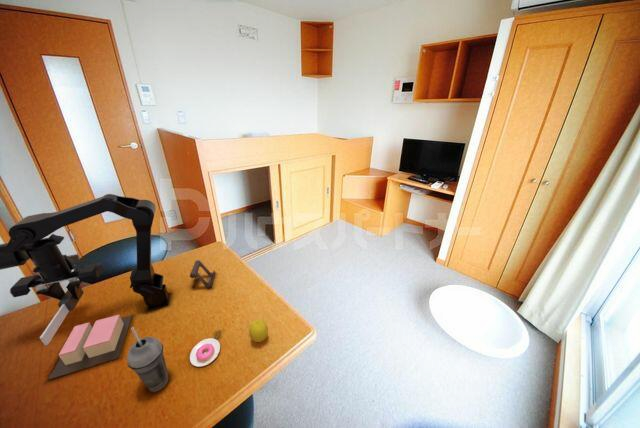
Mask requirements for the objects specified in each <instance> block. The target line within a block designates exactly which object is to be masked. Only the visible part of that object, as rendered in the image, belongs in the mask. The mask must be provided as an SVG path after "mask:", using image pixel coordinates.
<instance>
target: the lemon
mask: <svg viewBox="0 0 640 428" xmlns="http://www.w3.org/2000/svg"><path fill="white" fill-rule="evenodd" d="M248 333H249V337H250V339H251V340H252V341H253V342H255V343H261V342H263V341H264V340H265V339H266V338H267V336H268V333H269V327H268V325H267V322H266V321H265V320H263V319H261V318H259V319H258V318H257V319H255V320H254V321H252V322H251V324H250V325H249V329H248Z"/></svg>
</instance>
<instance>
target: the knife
mask: <svg viewBox="0 0 640 428" xmlns="http://www.w3.org/2000/svg"><path fill="white" fill-rule="evenodd" d="M84 294H85V292H84V290H83V288H82V286H81V285H80V297H79V299H75V298H74V297H73V296H72V294H71V293H70V292H69V291H68V289H67V290H66V292H65V294H64V296H63V297H62V299H61V300H58V302H57V306H58V308H59V309H58V310H57V312H56V313H55V314H54V316H53V318H52V319H51V321H50V322H49V323H48V325H47V327H46V328H45V329H44V331H43V332H42V334H41V335H40V336H39V340H40V341H41V342H42V344H43V345H44V346H45V347H46V346H49V344H50V342H51V341H52V339H53V337H54V336H55V334H56V333H57V331H58V330H59V328H60V326H61V325H62V324H63V323H64V320H65V319H66V317H67V315H68V314H69V312H72V311H74V310H75V309H76V306H77V305H78V303H79V301H80V300H81V298H82V297H83V296H84Z"/></svg>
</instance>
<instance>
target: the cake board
mask: <svg viewBox="0 0 640 428" xmlns="http://www.w3.org/2000/svg"><path fill="white" fill-rule="evenodd" d="M121 319H122V321H123V323H124V325H123V328H122V331H121V334H120V337H119V340H118V342H117V345H116V348H115V350H114V351H111V352H108V353H104V354H101V355H98V356H94V357H91V358H89V357H88V356H87V354H86V352H85V354H84V356H83V359H82V360H81V361H78V362H75V363H72V364H68V365H65V364H64V362H63V361H62V359H61V358H60V357H59V359H58V361H57V363H56V365H55V366H54V368H53V370H52V372H51V374H50V376H49V378H48V381H52V380H56V379H58V378H61V377H64V376H68V375H71V374H74V373H77V372H80V371H83V370H87V369H91V368H93V367H96V366H100V365H103V364H106V363H110V362H112V361H116V360H119V359H120V357H121V353H122V349H123V346H124V343H125V341H126V337H127V335H128V332H129V329H130V324H131V322H132V319H133V315H130V316H127V317H123V318H122V317H121ZM91 326H92V325H91ZM93 326H94V325H93ZM93 326H92V328H93Z"/></svg>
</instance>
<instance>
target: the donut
mask: <svg viewBox="0 0 640 428" xmlns="http://www.w3.org/2000/svg"><path fill="white" fill-rule="evenodd" d="M219 332H220V331H219ZM219 332H218V333H217V336H215V338H213V337H210V338H205V339H202V340H201V341H199V342H198V343H196V344H195V346H193V348H192V349H191V352H190V354H189V362H190V364H191V365H192V366H194V367H198V368H201V367H204V366H207V365H210V364H211V363H212V362H213V361H214V360H215V359H217V357H218V355H219V353H220V350H221V343H220V342H219V340H218V336H219Z"/></svg>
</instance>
